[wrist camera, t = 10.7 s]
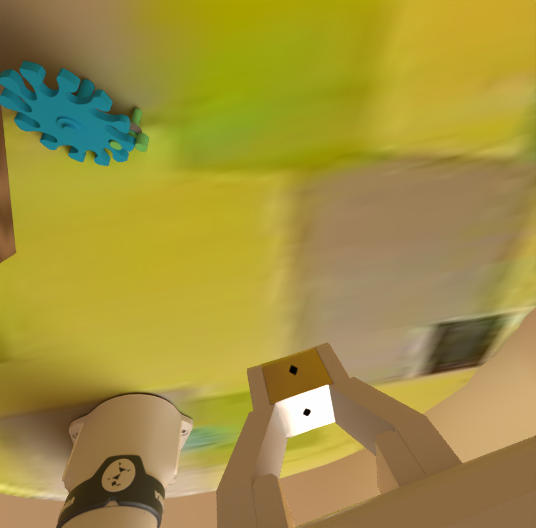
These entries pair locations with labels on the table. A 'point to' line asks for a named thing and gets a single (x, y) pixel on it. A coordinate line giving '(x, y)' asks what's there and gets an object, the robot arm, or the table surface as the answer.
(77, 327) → the table surface
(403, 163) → the table surface
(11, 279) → the table surface
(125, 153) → the gear
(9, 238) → the stop bar
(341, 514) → the robot arm
